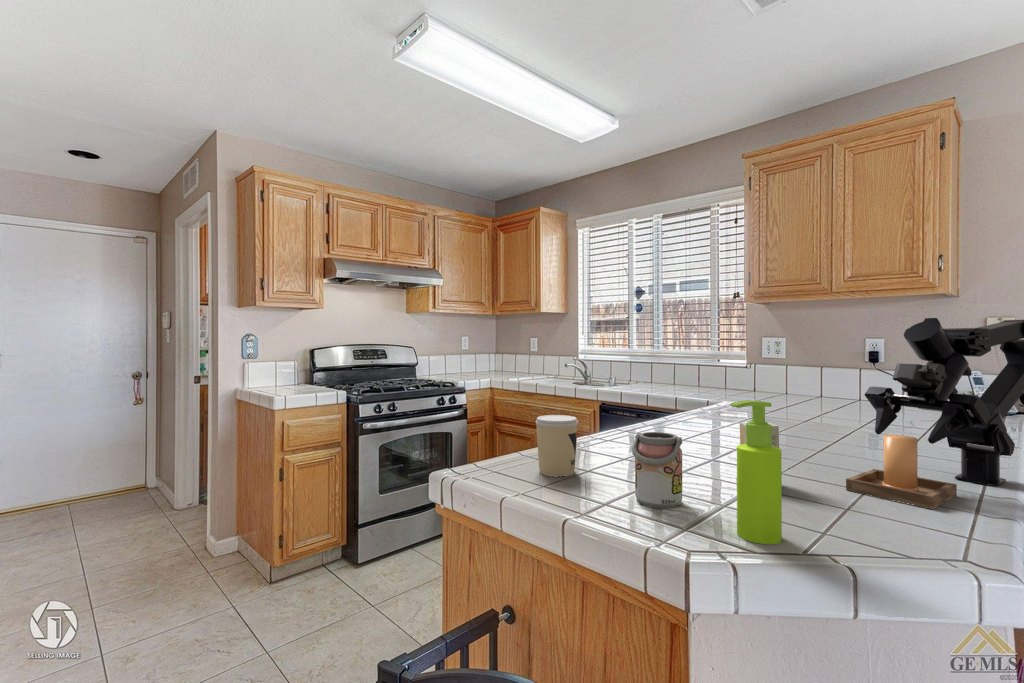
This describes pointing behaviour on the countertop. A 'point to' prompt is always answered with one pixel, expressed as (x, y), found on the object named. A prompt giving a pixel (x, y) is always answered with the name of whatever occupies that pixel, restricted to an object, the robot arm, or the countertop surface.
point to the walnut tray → (927, 497)
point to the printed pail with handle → (658, 469)
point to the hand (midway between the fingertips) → (902, 437)
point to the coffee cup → (556, 444)
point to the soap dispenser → (759, 480)
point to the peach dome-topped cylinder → (900, 462)
